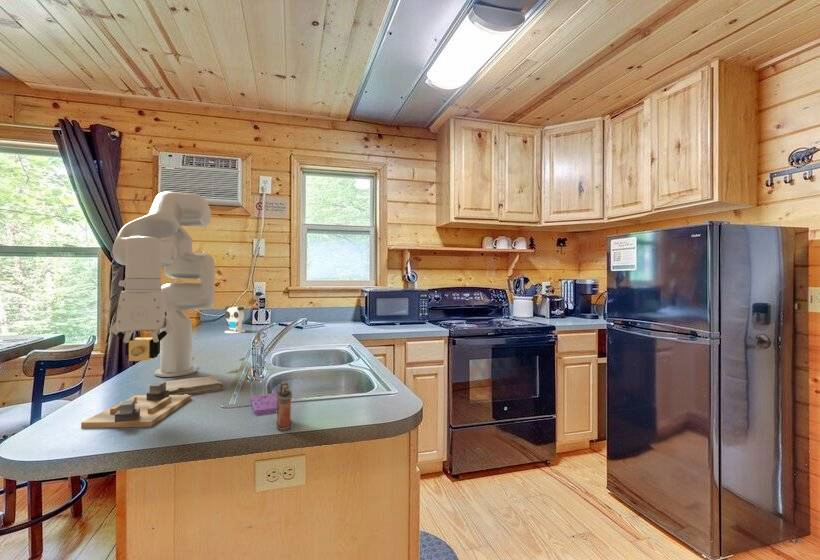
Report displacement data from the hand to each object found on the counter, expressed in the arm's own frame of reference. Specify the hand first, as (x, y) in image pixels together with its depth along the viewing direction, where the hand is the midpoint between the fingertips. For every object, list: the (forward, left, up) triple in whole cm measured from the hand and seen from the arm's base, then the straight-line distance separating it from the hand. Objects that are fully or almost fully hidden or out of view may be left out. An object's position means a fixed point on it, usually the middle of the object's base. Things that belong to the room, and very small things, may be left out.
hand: (142, 356), depth 100 cm
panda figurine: (-137, -24, -14) cm, 139 cm away
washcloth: (-20, +2, -15) cm, 25 cm away
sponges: (-4, +29, -15) cm, 33 cm away
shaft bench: (0, 0, -14) cm, 14 cm away
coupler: (0, 0, 0) cm, 0 cm away
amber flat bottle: (+10, +37, -14) cm, 41 cm away
